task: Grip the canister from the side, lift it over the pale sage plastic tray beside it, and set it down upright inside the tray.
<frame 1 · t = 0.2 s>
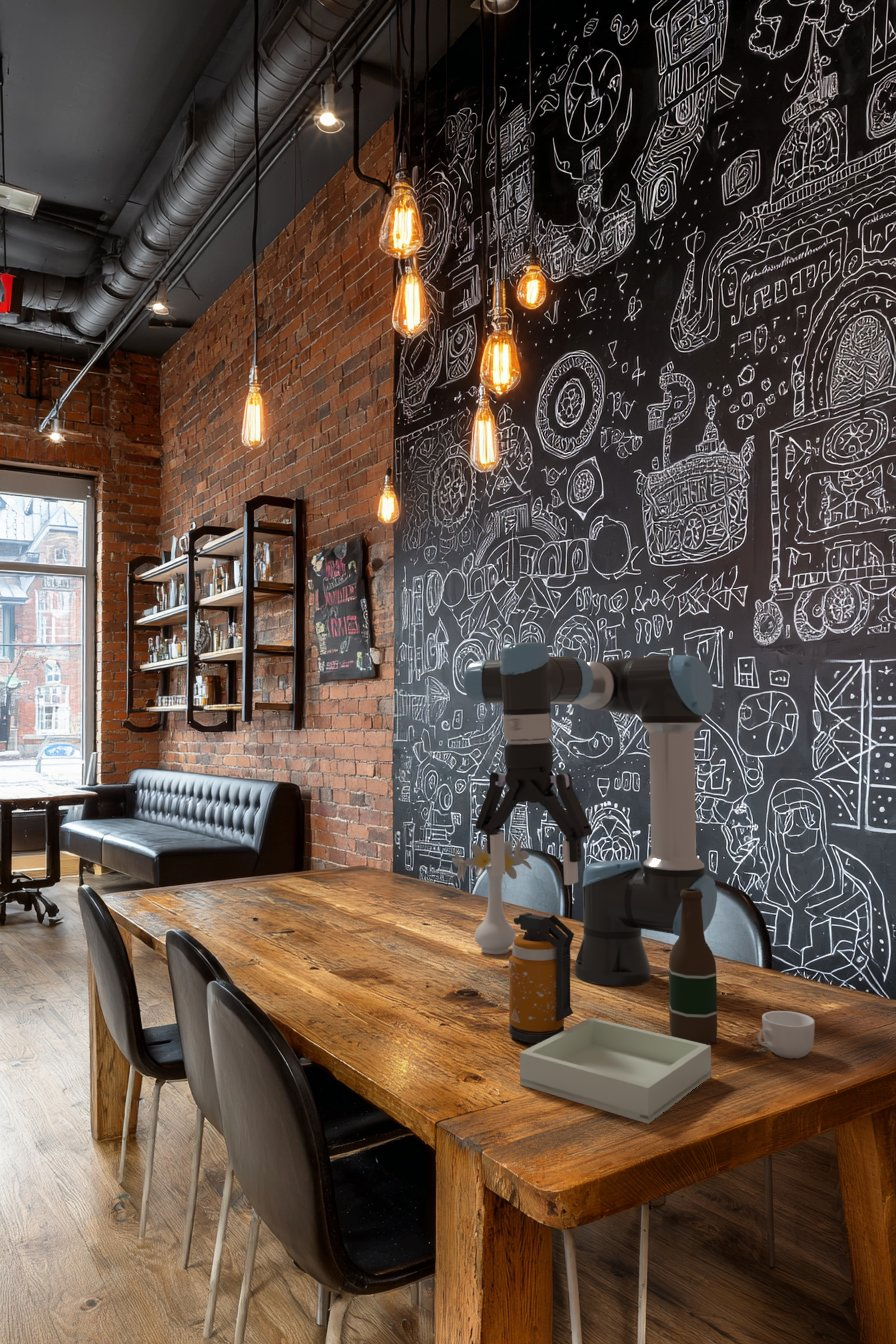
hand: (533, 879, 141), 27 cm above the table, tool pointing down, fingers open, 13 cm apart
flower vase: (493, 953, 205), on the table
canister: (541, 1039, 149), on the table
tray: (616, 1080, 132), on the table
teacup: (783, 1055, 142), on the table
beer bottle: (693, 1039, 150), on the table
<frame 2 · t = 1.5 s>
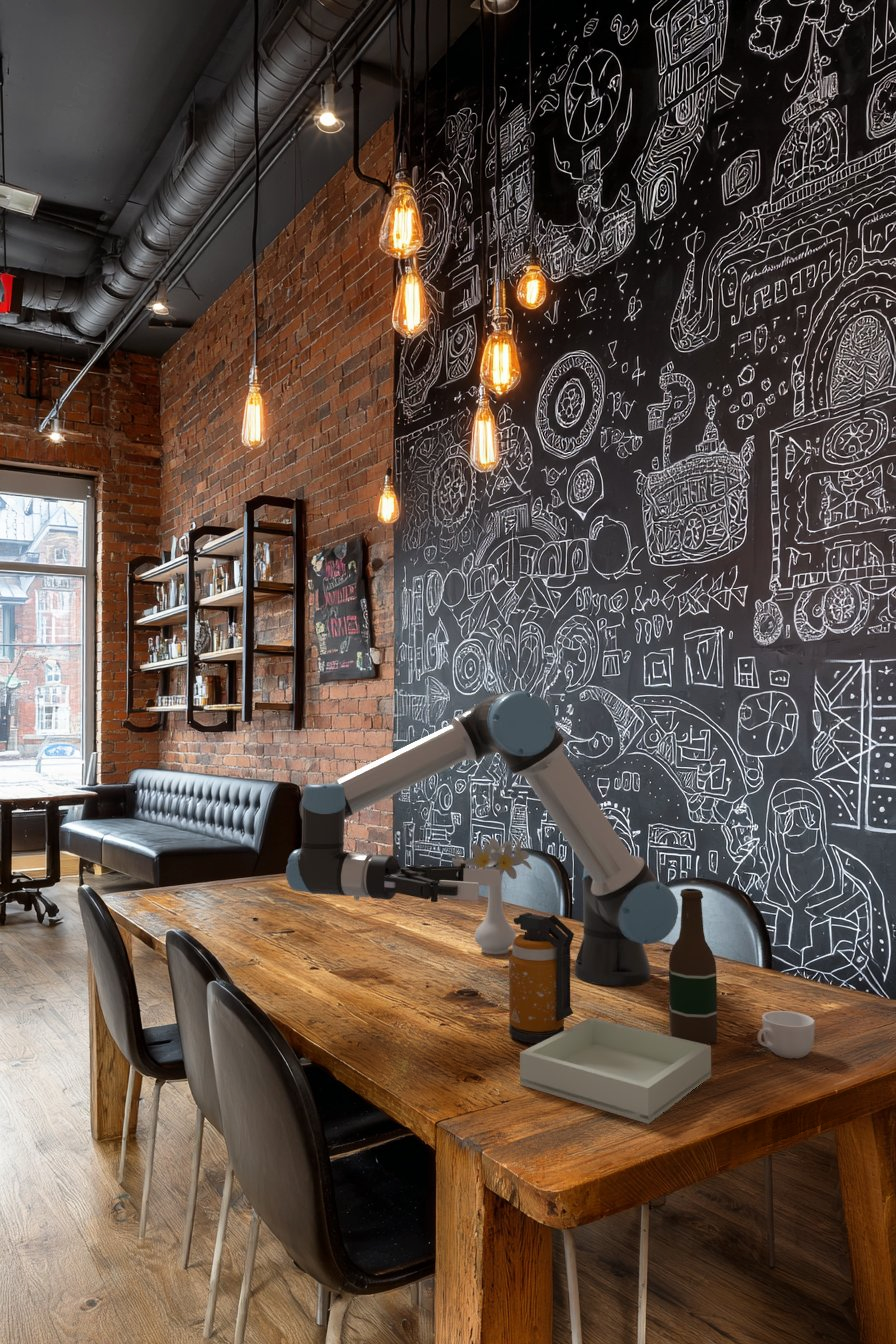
hand: (489, 884, 153), 24 cm above the table, tool horizontal, fingers open, 13 cm apart
nothing on the table moved.
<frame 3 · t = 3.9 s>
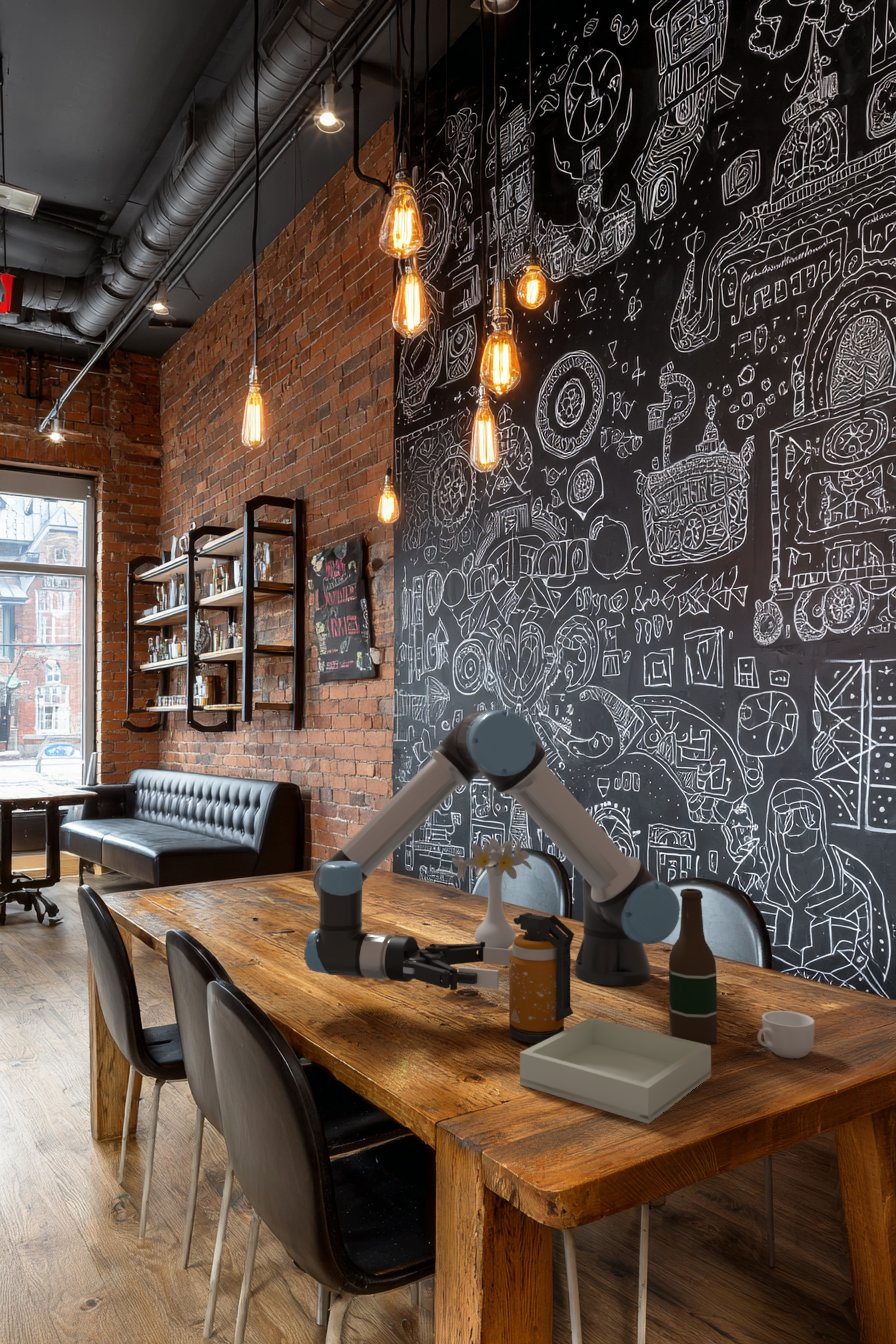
hand: (509, 968, 151), 11 cm above the table, tool horizontal, fingers open, 13 cm apart
nothing on the table moved.
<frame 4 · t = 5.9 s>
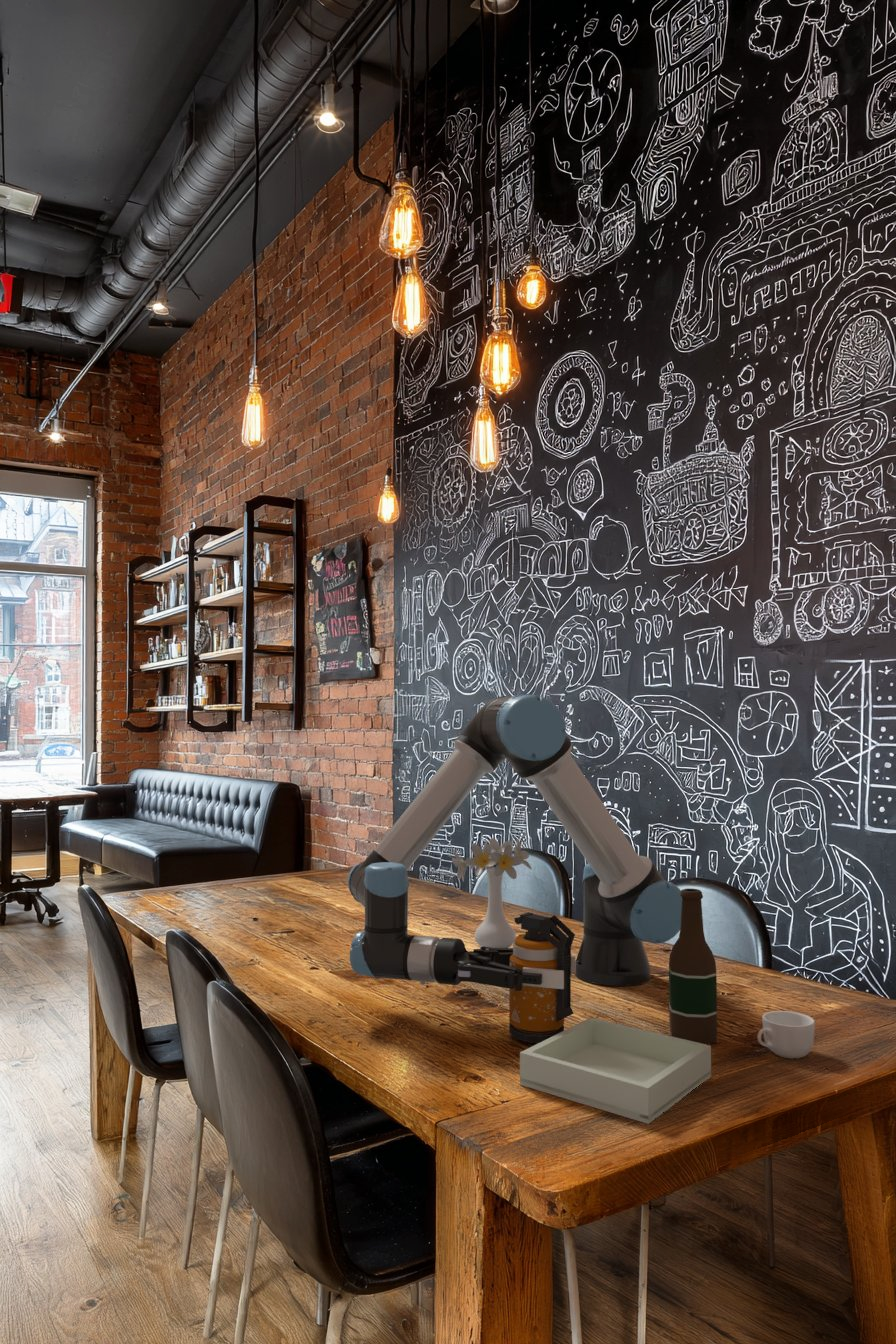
hand: (569, 971, 148), 11 cm above the table, tool horizontal, fingers closed on canister, 9 cm apart
canister: (541, 1039, 149), on the table, touching gripper
everything else where it was.
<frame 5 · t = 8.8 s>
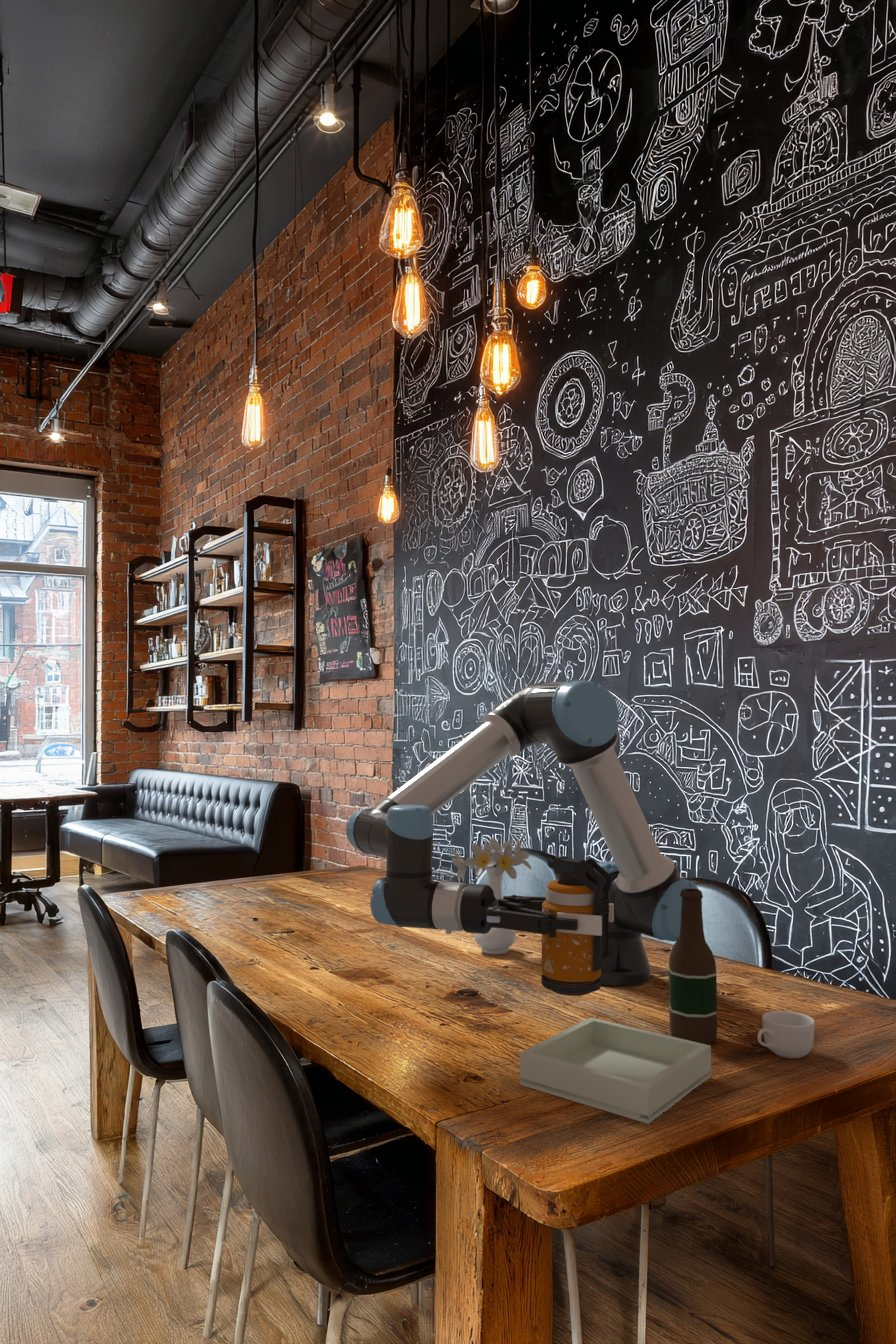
hand: (607, 919, 137), 22 cm above the table, tool horizontal, fingers closed on canister, 9 cm apart
canister: (576, 991, 138), point 11 cm above the table, touching gripper
everything else where it was.
when the fingers open (13 cm above the table, at t = 11.8 s): canister drops 1 cm, resting on tray.
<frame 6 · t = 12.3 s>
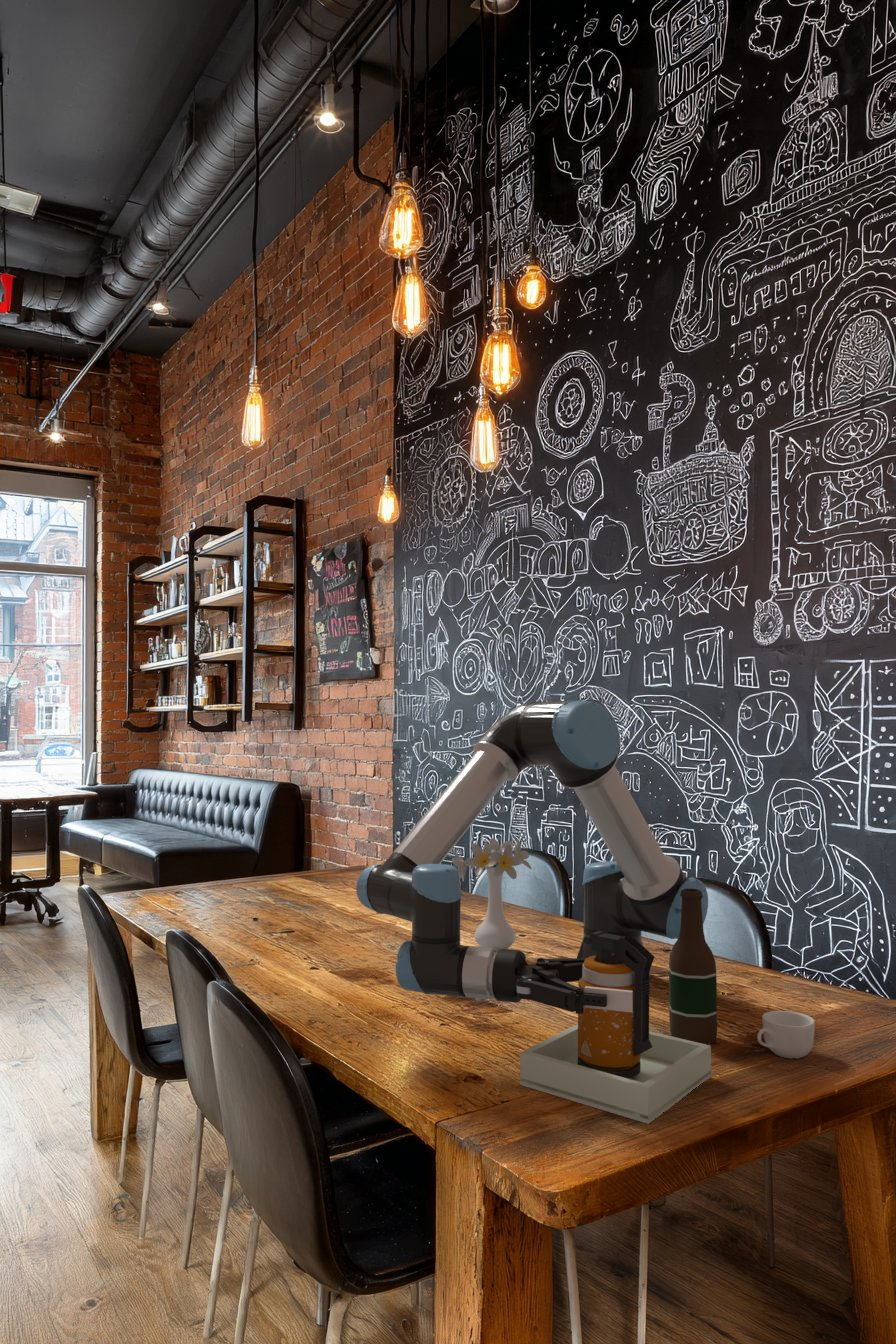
hand: (639, 987, 131), 13 cm above the table, tool horizontal, fingers open, 13 cm apart
canister: (615, 1075, 131), point 1 cm above the table, touching tray
everything else where it was.
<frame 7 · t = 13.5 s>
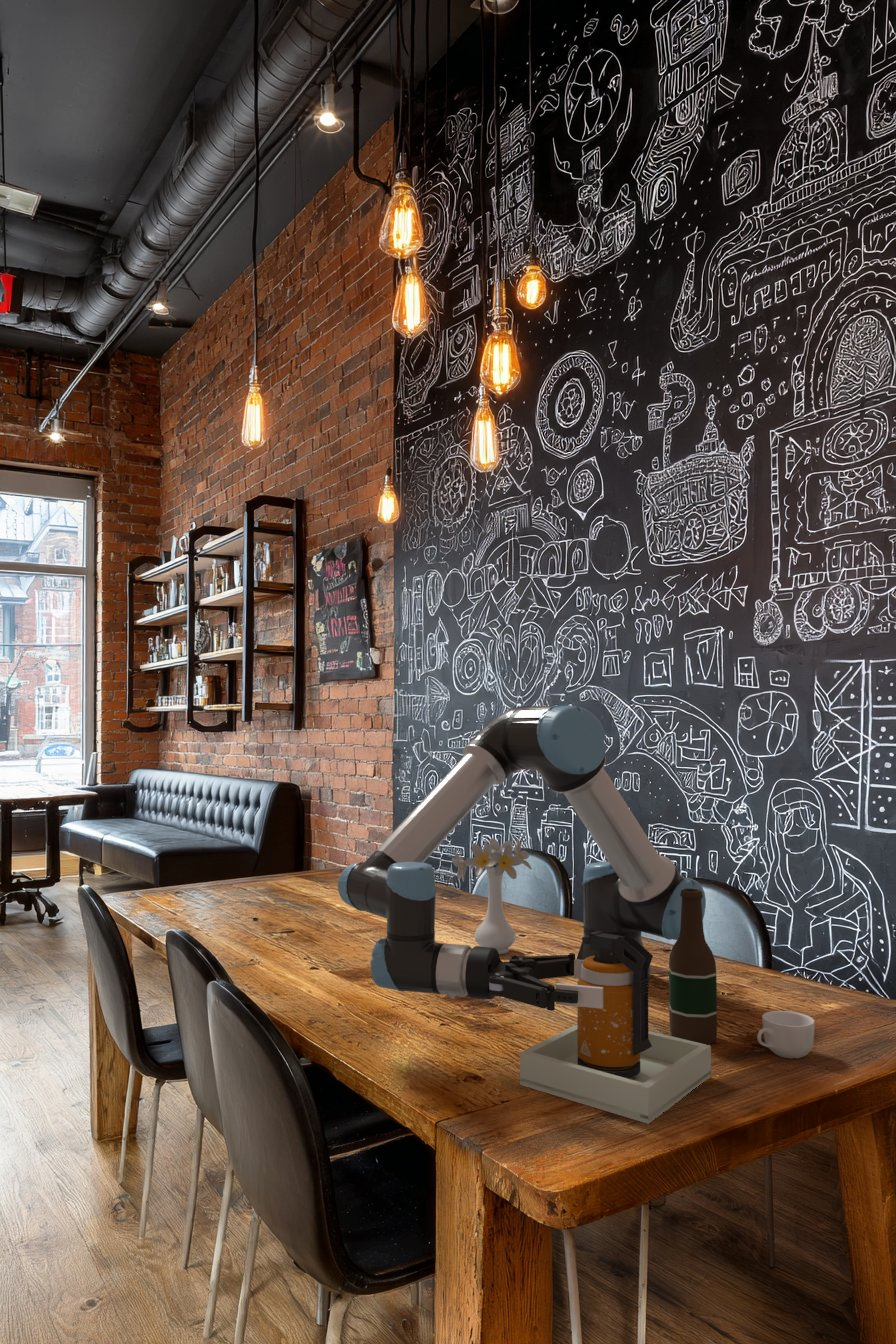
hand: (610, 984, 132), 14 cm above the table, tool horizontal, fingers open, 13 cm apart
nothing on the table moved.
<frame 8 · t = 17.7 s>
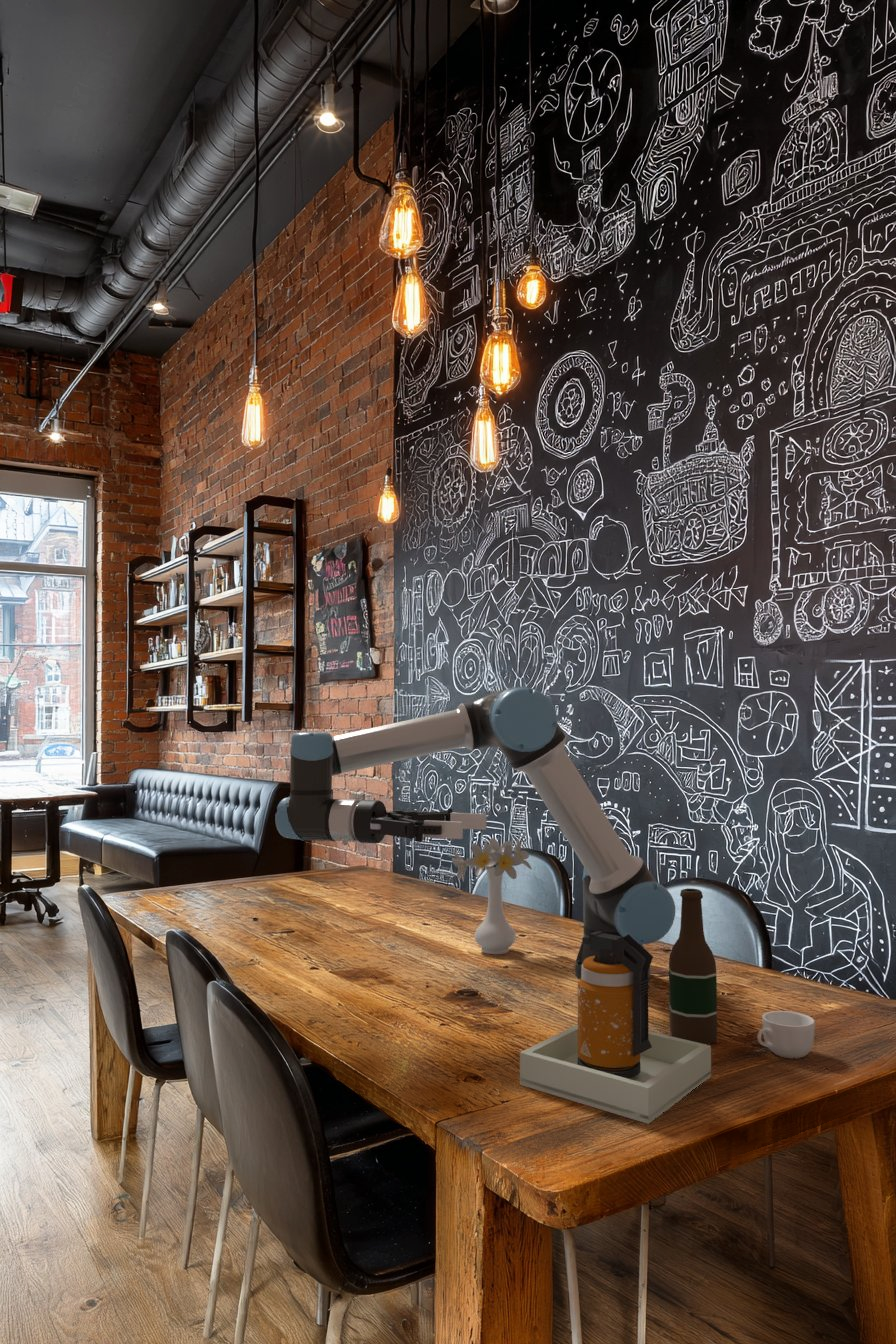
hand: (474, 825, 155), 34 cm above the table, tool horizontal, fingers open, 13 cm apart
nothing on the table moved.
at the end: canister inside the target area on the tray (0.5 cm from its centre), point 0.8 cm above the tray's base; canister tilted 0°; the gripper is holding nothing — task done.
